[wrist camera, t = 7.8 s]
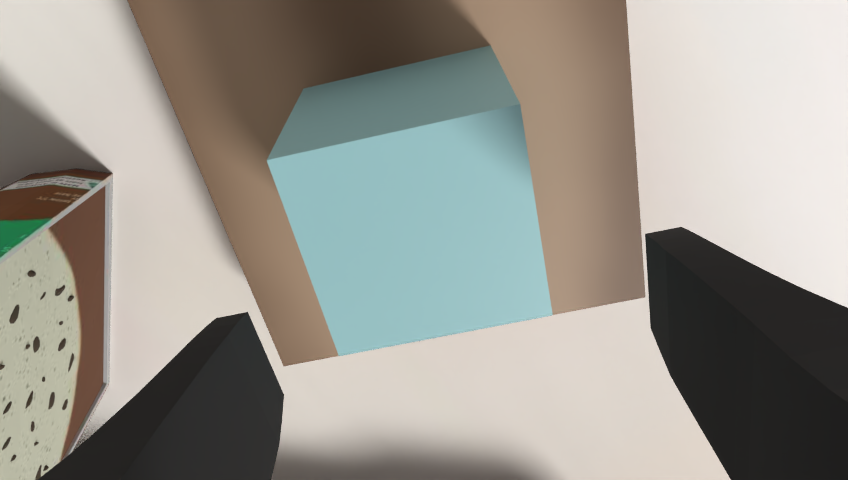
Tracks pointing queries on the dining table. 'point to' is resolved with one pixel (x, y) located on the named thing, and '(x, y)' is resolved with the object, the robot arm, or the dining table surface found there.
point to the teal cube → (414, 202)
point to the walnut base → (388, 48)
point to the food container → (52, 314)
